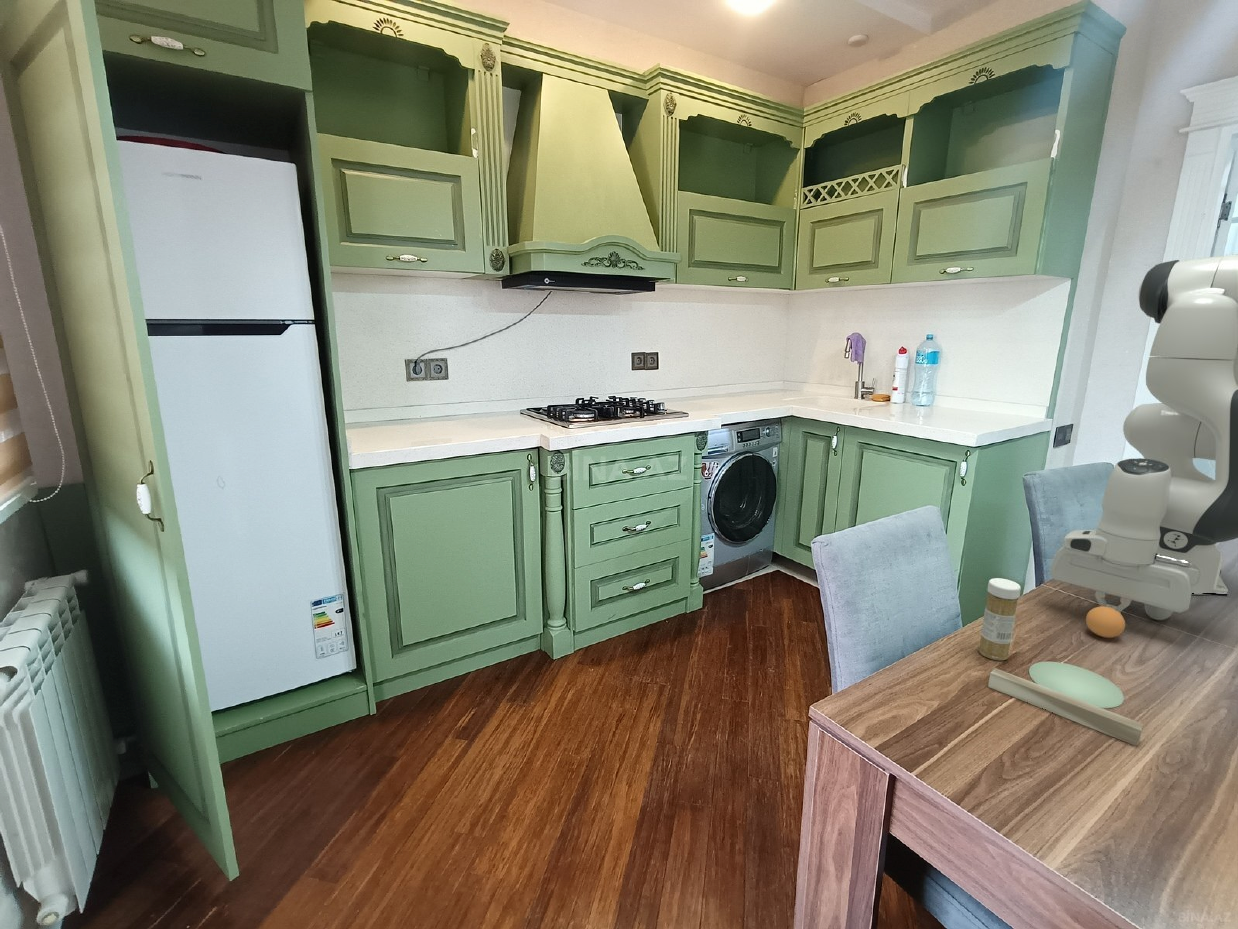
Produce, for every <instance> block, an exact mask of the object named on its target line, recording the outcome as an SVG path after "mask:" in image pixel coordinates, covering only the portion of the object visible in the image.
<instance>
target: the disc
mask: <svg viewBox="0 0 1238 929" xmlns="http://www.w3.org/2000/svg"><path fill="white" fill-rule="evenodd" d="M1028 673H1029V674H1028V675H1029V677H1030V678H1031V679H1032V682H1033V683H1036V684H1039V685H1041V686H1044V687H1047V688H1049V689H1052V690H1055V691H1057V692H1060V693H1063V694H1065V695H1068V696H1070V697H1073V698H1076V699H1078V700H1081V701H1084V702H1086V703H1089V704H1092V705H1094V706H1097V707H1100V708H1102V709H1113V708H1117V707H1119V706H1122V704H1123V703H1124V700H1125V696H1124V694H1123V692H1122V691H1121V689H1120V688H1119V687H1118V686H1117V685H1116V684H1115V683H1113V682H1112V681H1110V680H1109V679H1108V678H1105V677H1104V676H1102V675H1100V674H1098V673H1095V671H1091V670H1089V669H1086V668H1083V667H1081V666H1077V665H1074V664H1069V663H1065V662H1059V661H1058V662H1057V661H1039V662H1035V663H1034V664H1032V665H1030V666H1029V670H1028Z"/></svg>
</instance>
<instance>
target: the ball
mask: <svg viewBox="0 0 1238 929" xmlns="http://www.w3.org/2000/svg"><path fill="white" fill-rule="evenodd" d="M1100 606H1101V605H1100ZM1100 606H1097V607H1093V608H1092V609H1090V610H1089V611H1088V612H1087V614H1086V617H1085V621H1086V622H1085V623H1086V626H1087V627H1088V628H1089V630H1090V631H1091V632H1092V633H1094V634H1095V635H1097V636H1099V637H1102V638H1109V639H1110V638H1116V637H1118V636H1120V635H1121V634H1122V633H1123V632H1124V631H1125V628H1126V621H1125V618H1124V616H1123V615H1122V614H1120V613H1119V612H1118V611H1116V610H1115V609H1112V608H1110V607H1104V606H1101V607H1100Z"/></svg>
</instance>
